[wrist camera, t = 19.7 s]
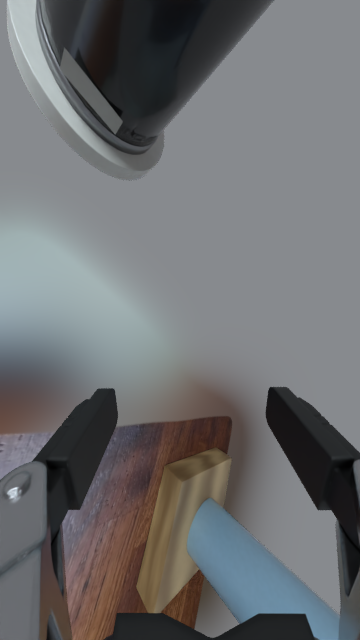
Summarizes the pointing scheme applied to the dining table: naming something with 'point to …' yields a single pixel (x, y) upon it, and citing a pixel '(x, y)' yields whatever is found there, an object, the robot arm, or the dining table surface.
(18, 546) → the robot arm
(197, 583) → the dining table surface
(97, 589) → the dining table surface
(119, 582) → the dining table surface
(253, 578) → the light blue cylinder
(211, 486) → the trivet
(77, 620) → the dining table surface
